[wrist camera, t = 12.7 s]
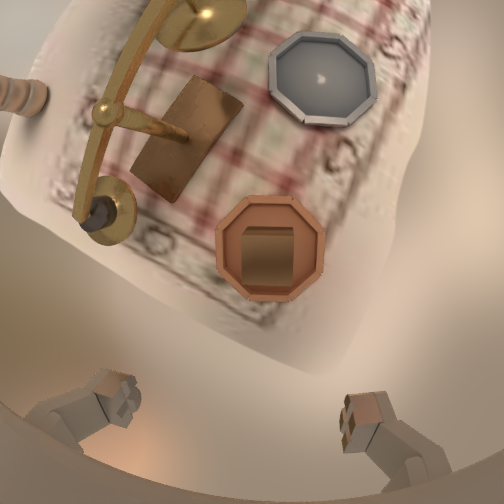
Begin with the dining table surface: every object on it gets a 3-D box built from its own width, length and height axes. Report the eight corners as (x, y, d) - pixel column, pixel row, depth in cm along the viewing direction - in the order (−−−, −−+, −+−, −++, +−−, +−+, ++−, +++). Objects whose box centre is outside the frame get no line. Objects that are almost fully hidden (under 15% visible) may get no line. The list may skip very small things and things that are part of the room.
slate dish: (268, 37, 25) (267, 30, 23) (366, 44, 24) (369, 38, 22) (270, 125, 28) (269, 121, 27) (374, 131, 27) (379, 128, 25)
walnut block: (247, 226, 31) (241, 235, 26) (292, 227, 30) (294, 236, 26) (248, 268, 32) (241, 284, 27) (291, 269, 32) (292, 286, 27)
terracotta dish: (218, 195, 31) (214, 196, 29) (324, 196, 30) (326, 197, 28) (221, 293, 34) (218, 298, 32) (318, 296, 33) (320, 302, 31)
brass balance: (227, 42, 26) (174, -58, 8) (275, 68, 26) (260, -41, 8) (113, 209, 33) (-3, 242, 15) (151, 240, 33) (42, 300, 15)
